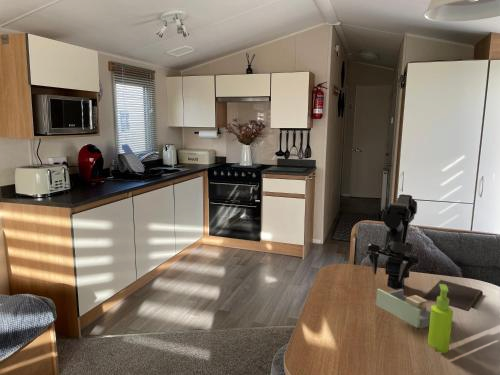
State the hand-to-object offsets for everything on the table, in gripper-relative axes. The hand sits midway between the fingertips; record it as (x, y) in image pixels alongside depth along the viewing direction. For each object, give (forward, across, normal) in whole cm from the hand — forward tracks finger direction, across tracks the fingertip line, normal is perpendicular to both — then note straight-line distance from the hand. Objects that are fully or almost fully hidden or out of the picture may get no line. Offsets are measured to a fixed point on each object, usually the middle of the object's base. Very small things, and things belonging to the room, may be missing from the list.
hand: (387, 278), depth 135 cm
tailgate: (+13, +6, +2) cm, 14 cm away
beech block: (+7, +14, +6) cm, 17 cm away
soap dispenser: (+19, +14, -12) cm, 27 cm away
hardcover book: (-2, +34, +18) cm, 38 cm away
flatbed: (+10, +12, +6) cm, 17 cm away
